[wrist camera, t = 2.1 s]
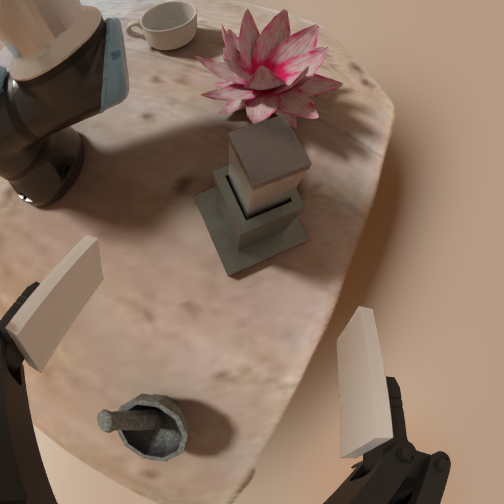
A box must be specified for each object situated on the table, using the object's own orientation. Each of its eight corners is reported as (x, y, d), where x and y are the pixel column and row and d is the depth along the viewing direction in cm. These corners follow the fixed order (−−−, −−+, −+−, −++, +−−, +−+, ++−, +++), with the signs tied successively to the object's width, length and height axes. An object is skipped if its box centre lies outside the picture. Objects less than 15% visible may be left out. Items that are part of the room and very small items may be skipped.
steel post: (229, 208, 39) (227, 132, 19) (259, 196, 40) (283, 114, 20) (242, 238, 39) (253, 185, 19) (272, 225, 39) (311, 163, 20)
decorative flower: (174, 115, 42) (157, 52, 27) (241, 44, 45) (245, -15, 31) (291, 174, 42) (319, 120, 27) (341, 89, 45) (370, 35, 30)
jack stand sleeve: (194, 199, 41) (180, 160, 28) (270, 168, 42) (285, 122, 29) (228, 276, 40) (226, 269, 27) (305, 241, 41) (337, 220, 28)
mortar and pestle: (206, 410, 37) (197, 451, 25) (173, 448, 35) (157, 492, 24) (142, 365, 37) (111, 390, 25) (113, 406, 36) (80, 438, 24)
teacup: (203, 26, 46) (201, -2, 38) (193, 57, 44) (190, 27, 36) (142, 29, 45) (135, 4, 37) (126, 61, 44) (116, 34, 36)
